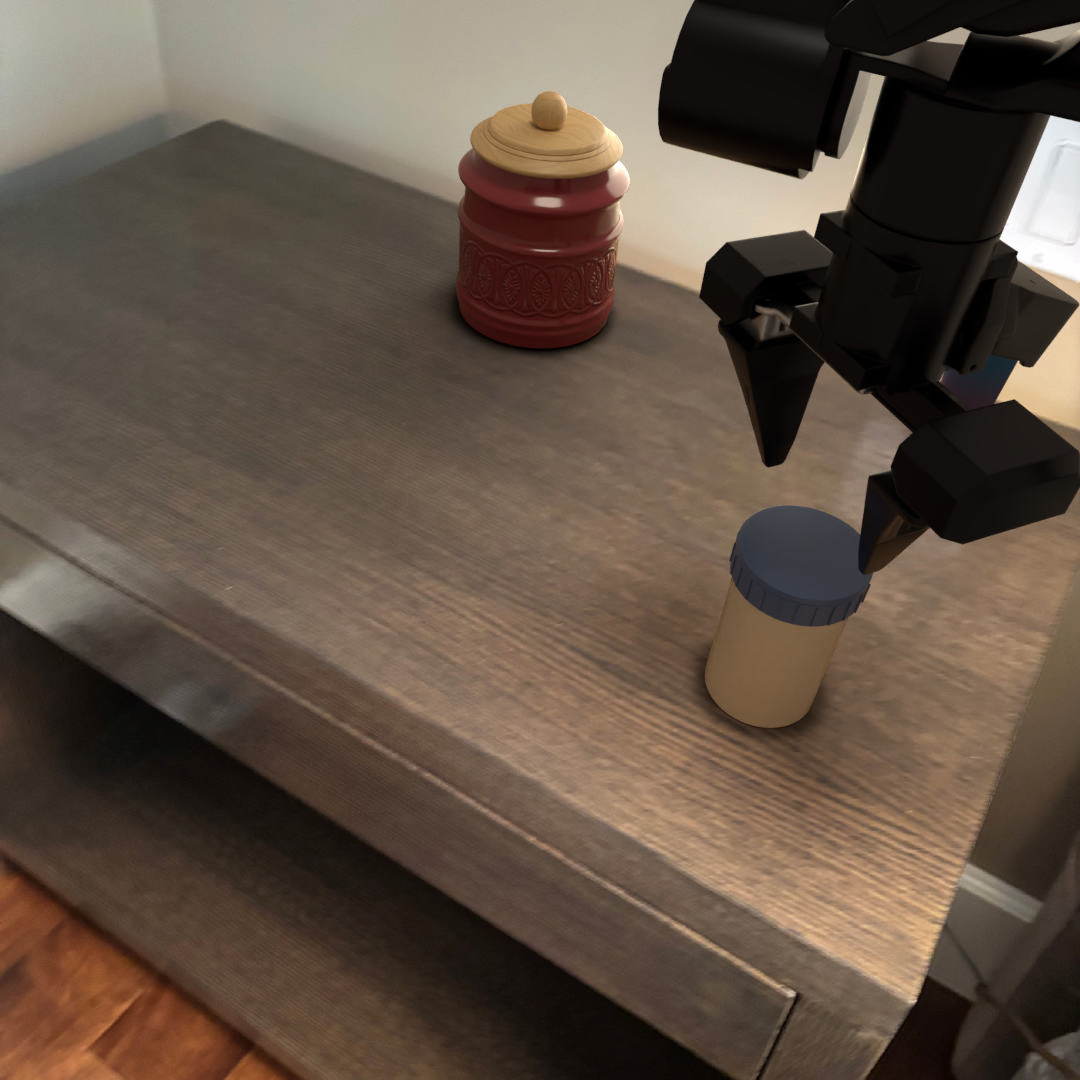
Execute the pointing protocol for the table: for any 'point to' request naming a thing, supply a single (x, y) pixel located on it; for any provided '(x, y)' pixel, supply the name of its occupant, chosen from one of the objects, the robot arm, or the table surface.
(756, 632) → the jar
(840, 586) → the lid
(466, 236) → the kitchen canister
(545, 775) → the table surface
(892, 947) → the table surface
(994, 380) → the cup
